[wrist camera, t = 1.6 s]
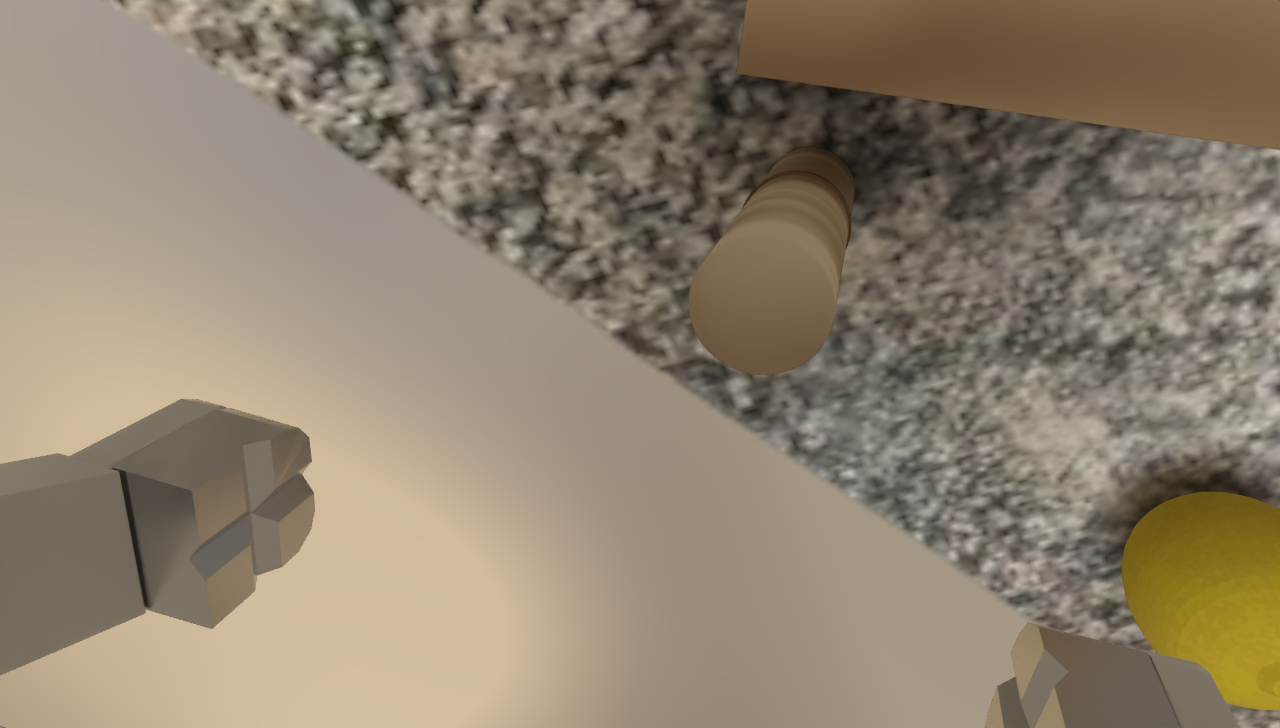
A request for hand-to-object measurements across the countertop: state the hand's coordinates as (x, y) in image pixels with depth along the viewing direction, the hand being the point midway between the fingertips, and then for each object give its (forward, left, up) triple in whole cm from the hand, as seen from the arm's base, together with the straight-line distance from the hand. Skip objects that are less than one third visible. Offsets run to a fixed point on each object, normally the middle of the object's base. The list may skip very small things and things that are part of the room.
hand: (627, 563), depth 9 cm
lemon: (+9, +15, -21) cm, 27 cm away
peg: (0, 0, -21) cm, 21 cm away
